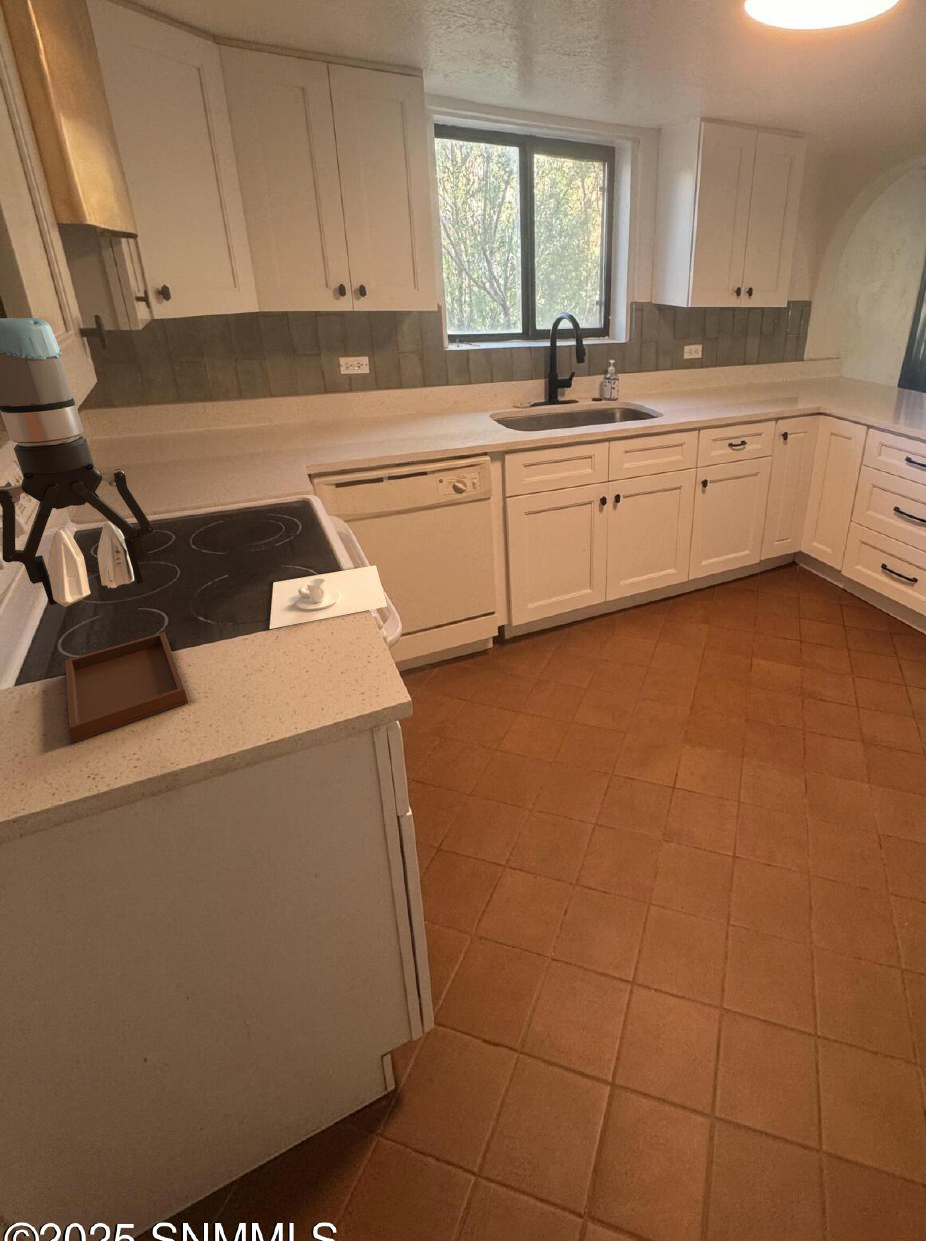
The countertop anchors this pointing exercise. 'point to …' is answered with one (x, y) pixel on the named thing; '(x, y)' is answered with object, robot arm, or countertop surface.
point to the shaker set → (71, 568)
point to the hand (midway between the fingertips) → (97, 590)
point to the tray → (121, 686)
